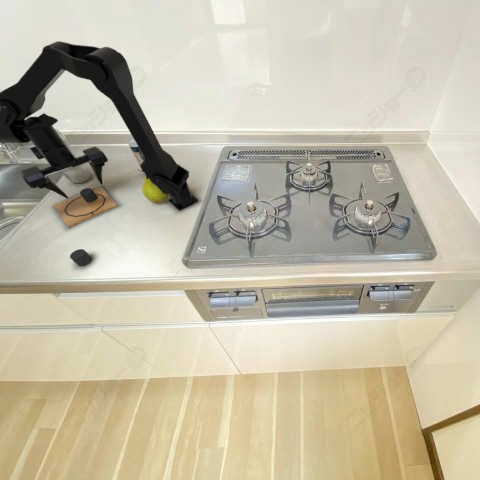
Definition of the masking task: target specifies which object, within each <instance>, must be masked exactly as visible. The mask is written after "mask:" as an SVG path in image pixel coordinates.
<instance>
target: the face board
mask: <svg viewBox="0 0 480 480" xmlns="http://www.w3.org/2000/svg"><path fill="white" fill-rule="evenodd" d="M92 190H93V191H94V193H95V194H96V196H97V197H98V198H97V200H95V201H93V202H86V201H85V200H84V198H83V197H82V196H81V195H80V194H78V195H76V196H73V197H71V198H68V199H66V200H65V199H64V200H63V201H60V202H58V203H55V204H54V205H53V206H54V207H55V209H56V210H57V211H56V212H57V213H58V214H59V216H60V217H61V218H62V220H63V221H64V223H65V225H66V226H67V227H68V228H69V229H70V228H72V227H74V226H77V225H79V224H81V223H84V222H85V221H88V220H90V219H93V218H94V217H97V216H99V215H101V214H103V213H106V212H108V211H110V210H113V209H115V208H117V207H118V204H117V203H116V202H115V201H114V200H113V199H112V197H111V196H110V195H109V194H108V192H106V191H105V189H104V188H103V187H102V185H100V186H98V187H96V188H93V189H92Z"/></svg>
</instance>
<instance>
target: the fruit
mask: <svg viewBox="0 0 480 480" xmlns="http://www.w3.org/2000/svg"><path fill="white" fill-rule="evenodd" d="M137 171H140V172H142V173H144V172H143V171H142V169H141V168H140V169H139V168H138V169H137ZM142 194H143V196H144V197H145V198H146V199H147V200H148V201H151V202H152V203H157V204H160V203H163V202H165V201H166V200H167V198H168V197H169V196H170V195H169V194H164V193H163V192H162V191H161V190H160V189H159V188H158V187H157V186H156V185H155V184H153V183H152V182H151V181H150V179H147V178H146V176H144V184H143V186H142Z"/></svg>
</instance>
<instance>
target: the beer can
mask: <svg viewBox="0 0 480 480" xmlns="http://www.w3.org/2000/svg"><path fill="white" fill-rule="evenodd" d="M128 146H129V148H130V150H131V151H132V153H133V155H134V157H135V159H136V161H137V163H138V165H139V166H140V165H141V164H142V162H143V161H144V160H145V158H144V155H143V154H142V152H141V150H140V148H139V147H138V145H137V143H136V141H135V140H134V138H133V137H132V138H130V139H129V140H128ZM141 170H142V169H141ZM142 171H143V170H142ZM142 171H141V172H142ZM143 174H144V175H145V173H144V172H143Z"/></svg>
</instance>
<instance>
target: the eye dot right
mask: <svg viewBox="0 0 480 480" xmlns="http://www.w3.org/2000/svg"><path fill="white" fill-rule="evenodd" d="M79 195H81V196H82V197H83V198H84V200H85V201H86V202H93V201H95V200H97V198H98V197H97V196H96V194H95V193H94V191H93V189H92V188H91V187H87V188H83V189H81V190H80V191H79Z"/></svg>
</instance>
